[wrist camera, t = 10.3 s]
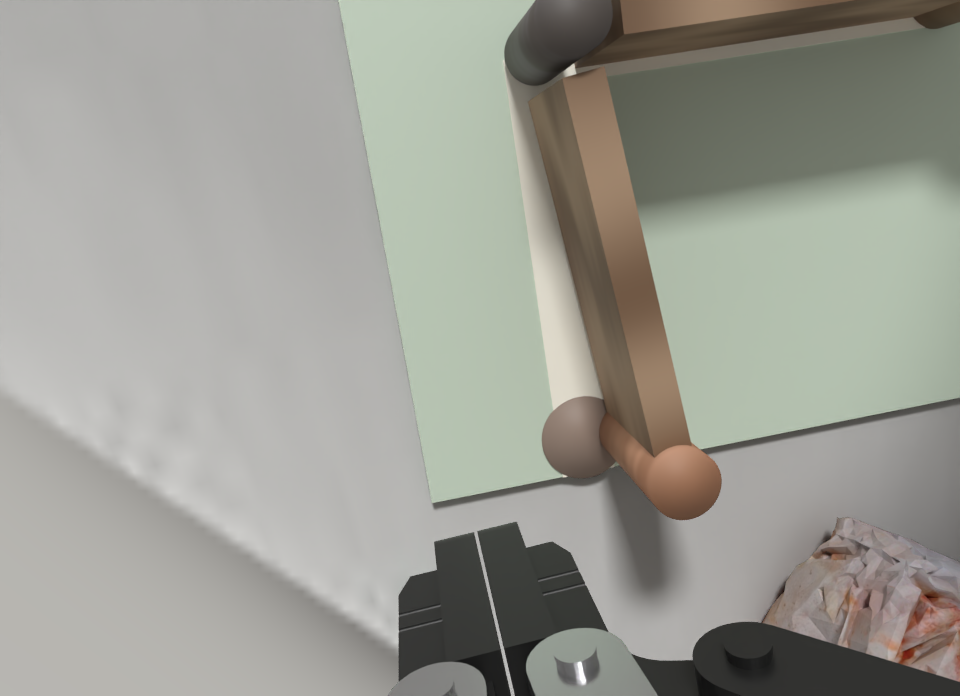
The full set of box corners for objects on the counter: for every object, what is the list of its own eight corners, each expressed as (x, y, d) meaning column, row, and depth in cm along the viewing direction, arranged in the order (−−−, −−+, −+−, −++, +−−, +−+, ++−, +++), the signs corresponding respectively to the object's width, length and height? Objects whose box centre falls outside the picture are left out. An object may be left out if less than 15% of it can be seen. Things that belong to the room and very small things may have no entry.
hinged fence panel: (494, 31, 24) (524, -16, 19) (558, 13, 24) (605, -39, 19) (607, 465, 28) (659, 529, 22) (662, 447, 28) (728, 506, 23)
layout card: (987, -197, 26) (998, -205, 25) (993, 391, 30) (1003, 394, 30) (317, -113, 24) (316, -120, 23) (432, 503, 28) (433, 509, 28)
